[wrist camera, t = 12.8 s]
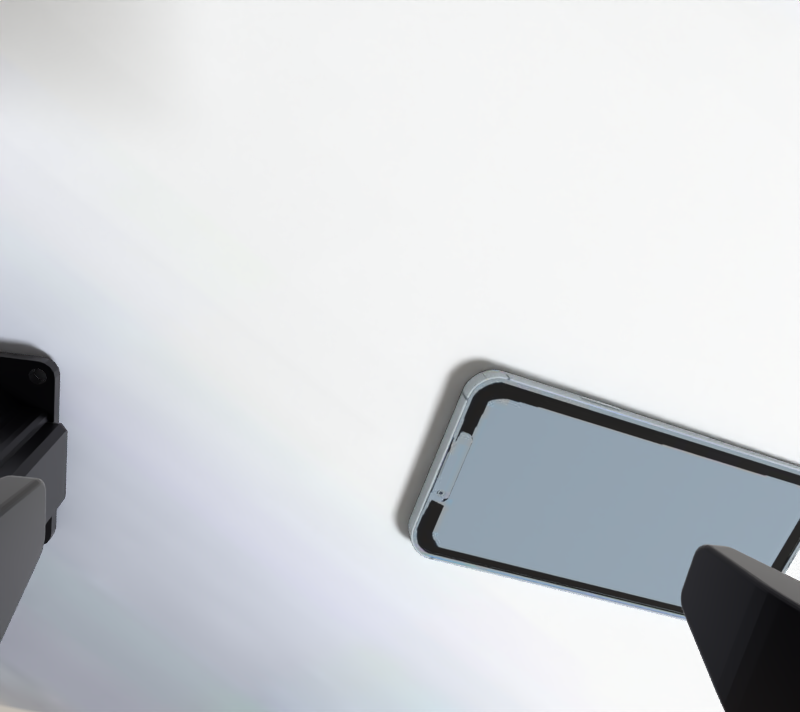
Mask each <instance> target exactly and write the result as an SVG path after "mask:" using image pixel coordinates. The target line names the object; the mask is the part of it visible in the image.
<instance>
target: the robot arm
mask: <svg viewBox="0 0 800 712" xmlns="http://www.w3.org/2000/svg"><path fill="white" fill-rule="evenodd" d="M35 369H40V370H43V371H44V372H45V373H46V377H47V379H46V380H41V379H38V378H37V377H36V376H35V372H34V370H35ZM59 395H60V372H59V368H58V366H57V365H56V363H55V362H53V361H52V360H50V359H48V358H44V357H38V356H30V355H22V354H14V353H6V352H0V642H1V640H2V638H3V636H4V634H5V632H6V629H7V627H8V625H9V623H10V621H11V619H12V616H13V614H14V612H15V610H16V608H17V606H18V603H19V601H20V599H21V597H22V595H23V593H24V590H25V588H26V586H27V584H28V582H29V579H30V577H31V575H32V573H33V571H34V569H35V566H36V564H37V562H38V560H39V558H40V555H41V553H42V549H43V545H44V544H46V543H47V542H48V541H49V540H50V539H51V537H52V536H53V534H54V533H55V529H56V510H57V508H58V507H59V505H60V504H61V503H62V501H63V500H64V499H65V495H66V463H67V430H66V428H65V427H64V426H63V425H62V423H59ZM681 606H682V610H683V612H684V615H685V617H686V620H687V622H688V625H689V627H690V630H691V632H692V634H693V637H694V639H695V642H696V644H697V647H698V649H699V651H700V654H701V656H702V659H703V661H704V664H705V666H706V668H707V671H708V673H709V676H710V678H711V681H712V683H713V685H714V688H715V690H716V693H717V695H718V697H719V699H720V702H721V704H722V706H723V708H724V710H725V712H800V581H798V580H796V579H794V578H792V577H790V576H788V575H786V574H784V573H782V572H780V571H778V570H776V569H774V568H772V567H770V566H768V565H766V564H764V563H762V562H760V561H758V560H756V559H754V558H752V557H750V556H747V555H745V554H743V553H741V552H739V551H737V550H735V549H733V548H731V547H728V546H720V545H710V544H704V545H702V546H700V547H698V549H697V550H696V551H695V553H694V556H693V559H692V562H691V565H690V568H689V571H688V573H687V576H686V579H685V582H684V585H683V588H682V591H681Z"/></svg>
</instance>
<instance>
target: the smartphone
mask: <svg viewBox="0 0 800 712" xmlns="http://www.w3.org/2000/svg"><path fill="white" fill-rule="evenodd" d="M408 529H409V534H410V538H411V542H412V545H413V547H414V549H415V550H416V551H417V552H418V553H419V554H420V555H422V556H424V557H426V558H429V559H433V560H437V561H441V562H445V563H449V564H453V565H457V566H462V567H466V568H470V569H474V570H478V571H482V572H486V573H491V574H495V575H499V576H503V577H507V578H511V579H515V580H520V581H524V582H528V583H532V584H536V585H540V586H544V587H549V588H553V589H557V590H561V591H565V592H569V593H573V594H578V595H582V596H586V597H590V598H594V599H598V600H602V601H607V602H611V603H615V604H619V605H623V606H627V607H631V608H636V609H640V610H644V611H648V612H652V613H656V614H660V615H665V616H669V617H673V618H677V619H681V620H685V621H687V620H686V617H685V615H684V612H683V610H682V606H681V591H682V588H683V585H684V582H685V579H686V576H687V573H688V571H689V568H690V565H691V562H692V559H693V556H694V553H695V551H696V550H697V549H698V547H700V546H702V545H704V544H710V545H720V546H728V547H731V548H733V549H735V550H737V551H739V552H741V553H743V554H745V555H747V556H750V557H752V558H754V559H756V560H758V561H760V562H762V563H764V564H766V565H768V566H770V567H772V568H774V569H776V570H778V571H780V572H782V573H784V574H785V573H786V571H787V570H788V568H789V566H790V565H791V563H792V561H793V560H794V558H795V556H796V555H797V553H798V551H799V550H800V467H799V466H796V465H793V464H790V463H787V462H784V461H781V460H778V459H775V458H772V457H768V456H765V455H762V454H759V453H756V452H753V451H750V450H746V449H743V448H740V447H737V446H733V445H730V444H727V443H724V442H722V441H719V440H716V439H713V438H710V437H707V436H704V435H700V434H697V433H694V432H691V431H688V430H685V429H682V428H679V427H676V426H673V425H670V424H666V423H663V422H660V421H657V420H654V419H651V418H648V417H645V416H642V415H639V414H635V413H632V412H629V411H626V410H623V409H620V408H618V407H615V406H612V405H609V404H606V403H602V402H599V401H596V400H593V399H590V398H587V397H583V396H580V395H577V394H574V393H571V392H567V391H564V390H561V389H558V388H555V387H552V386H549V385H545V384H542V383H539V382H536V381H533V380H530V379H526V378H523V377H520V376H517V375H514V374H511V373H508V372H504V371H500V370H487V371H483V372H481V373H479V374H477V375H475V376H474V377H472V378H471V379H470V380H469V381H468V382H467V384H466V385H465V387H464V389H463V391H462V393H461V396H460V398H459V400H458V403H457V405H456V408H455V410H454V412H453V415H452V417H451V420H450V422H449V425H448V427H447V429H446V432H445V434H444V437H443V439H442V442H441V444H440V446H439V449H438V451H437V454H436V456H435V459H434V461H433V463H432V466H431V468H430V471H429V473H428V475H427V478H426V480H425V483H424V485H423V488H422V490H421V492H420V495H419V497H418V500H417V502H416V505H415V507H414V509H413V512H412V514H411V517H410V520H409V525H408Z"/></svg>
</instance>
